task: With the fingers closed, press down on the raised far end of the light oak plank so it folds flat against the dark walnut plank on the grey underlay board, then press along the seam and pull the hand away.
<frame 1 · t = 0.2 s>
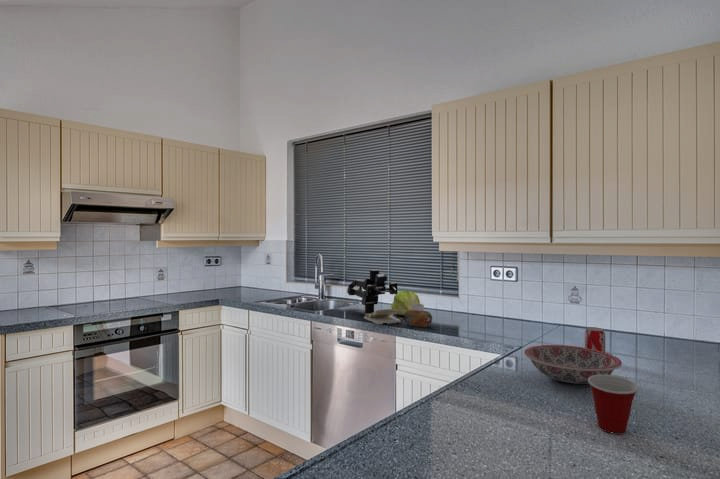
hand: (388, 291, 239), 17 cm above the countertop, fingers open, 9 cm apart
drinking glass: (417, 323, 238), on the countertop
soda can: (594, 360, 168), on the countertop
oak plank: (383, 313, 243), point 4 cm above the countertop, hinge at -20.0°
brown rounded block: (418, 326, 230), on the countertop
underlay board: (381, 320, 245), on the countertop
ceramic bowl: (570, 380, 144), on the countertop
plastic cup: (612, 430, 107), on the countertop
lettuce: (406, 316, 259), on the countertop
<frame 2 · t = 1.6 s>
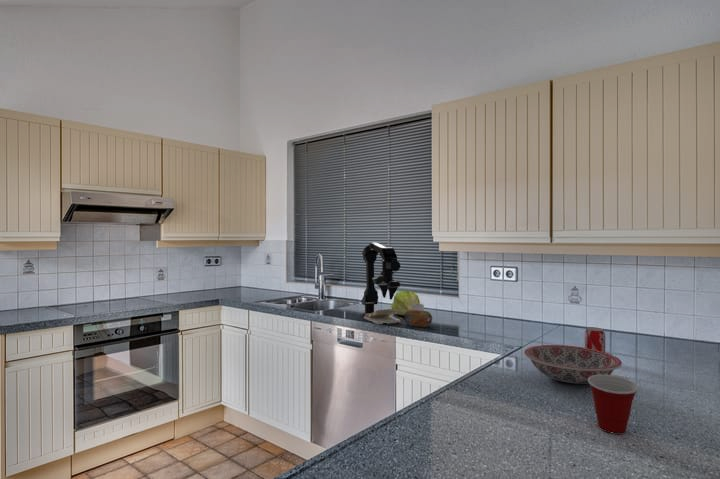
hand: (387, 298, 238), 13 cm above the countertop, fingers open, 8 cm apart
nothing on the countertop moved.
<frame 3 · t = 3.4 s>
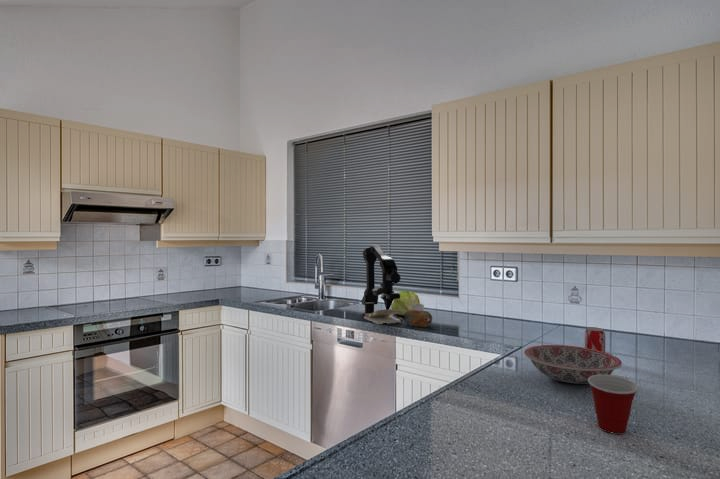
hand: (387, 309, 238), 7 cm above the countertop, fingers closed
oak plank: (383, 313, 243), point 4 cm above the countertop, hinge at -19.7°, touching gripper
everything else where it was.
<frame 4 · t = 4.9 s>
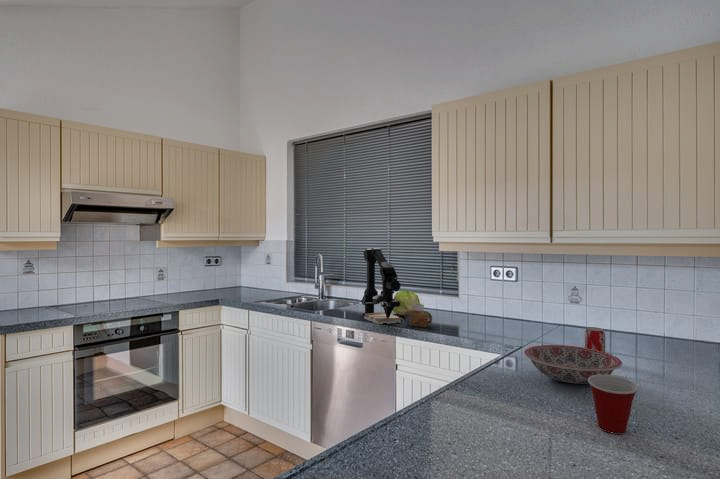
hand: (387, 317, 238), 3 cm above the countertop, fingers closed, pressing on oak plank
oak plank: (383, 317, 243), point 2 cm above the countertop, hinge at -0.1°, touching gripper
everything else where it was.
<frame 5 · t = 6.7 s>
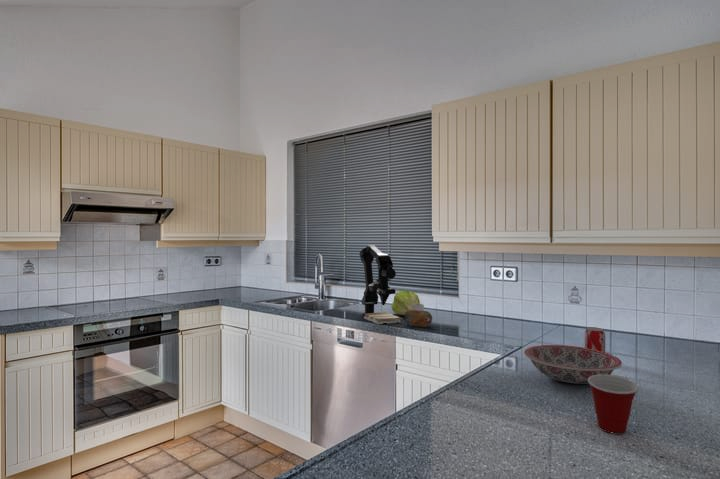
hand: (383, 305, 243), 9 cm above the countertop, fingers closed
oak plank: (383, 317, 243), point 2 cm above the countertop, hinge at 0.0°, touching underlay board
everything else where it was.
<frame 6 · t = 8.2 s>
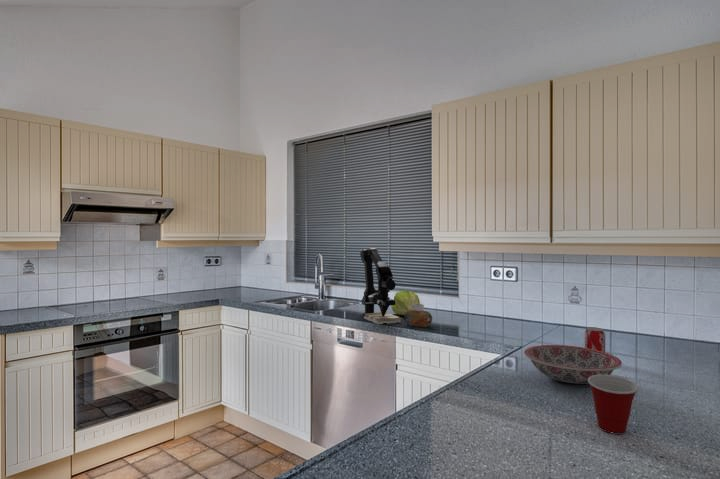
hand: (383, 315, 243), 3 cm above the countertop, fingers closed, pressing on oak plank
oak plank: (383, 317, 243), point 2 cm above the countertop, hinge at 0.0°, touching gripper, underlay board
everything else where it was.
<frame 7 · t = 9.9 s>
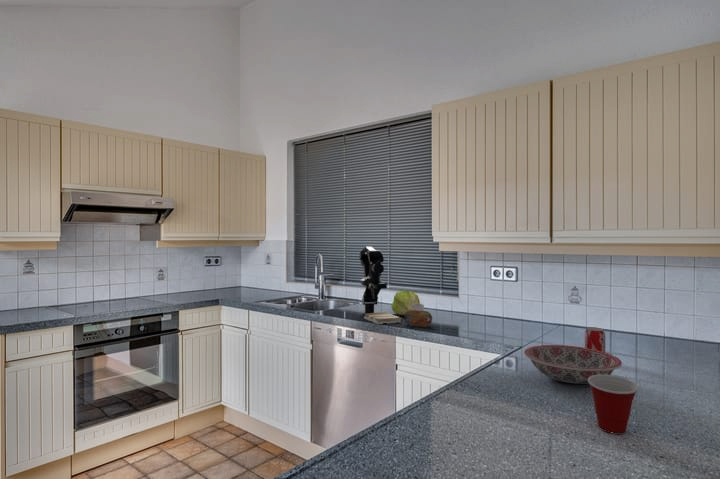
hand: (374, 299, 248), 11 cm above the countertop, fingers closed
oak plank: (383, 317, 243), point 2 cm above the countertop, hinge at 0.0°, touching underlay board
everything else where it was.
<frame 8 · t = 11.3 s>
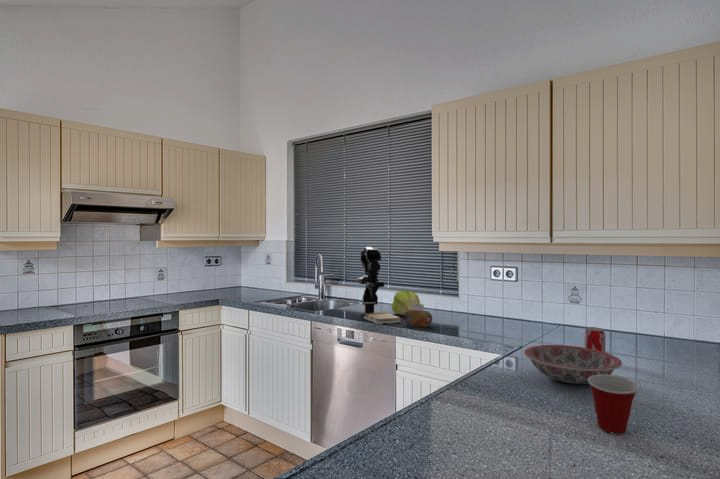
hand: (372, 297, 249), 12 cm above the countertop, fingers closed
nothing on the countertop moved.
at the end: oak plank at +0° (first picture: -20°) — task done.
